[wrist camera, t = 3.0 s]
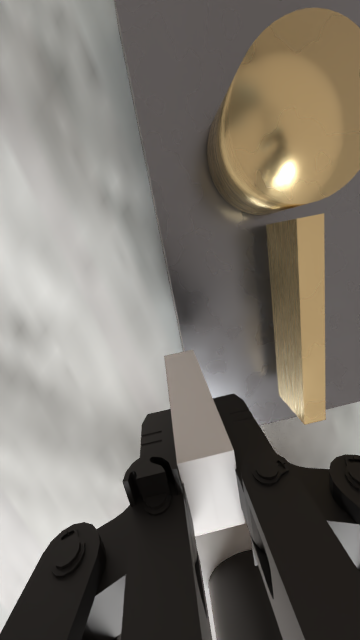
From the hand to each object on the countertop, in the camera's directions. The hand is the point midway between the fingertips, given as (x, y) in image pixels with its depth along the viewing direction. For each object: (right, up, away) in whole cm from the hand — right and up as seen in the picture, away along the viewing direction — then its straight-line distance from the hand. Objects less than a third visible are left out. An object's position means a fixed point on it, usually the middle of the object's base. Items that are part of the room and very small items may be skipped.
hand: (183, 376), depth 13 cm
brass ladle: (+5, +6, +1) cm, 8 cm away
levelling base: (+11, +9, +4) cm, 14 cm away
